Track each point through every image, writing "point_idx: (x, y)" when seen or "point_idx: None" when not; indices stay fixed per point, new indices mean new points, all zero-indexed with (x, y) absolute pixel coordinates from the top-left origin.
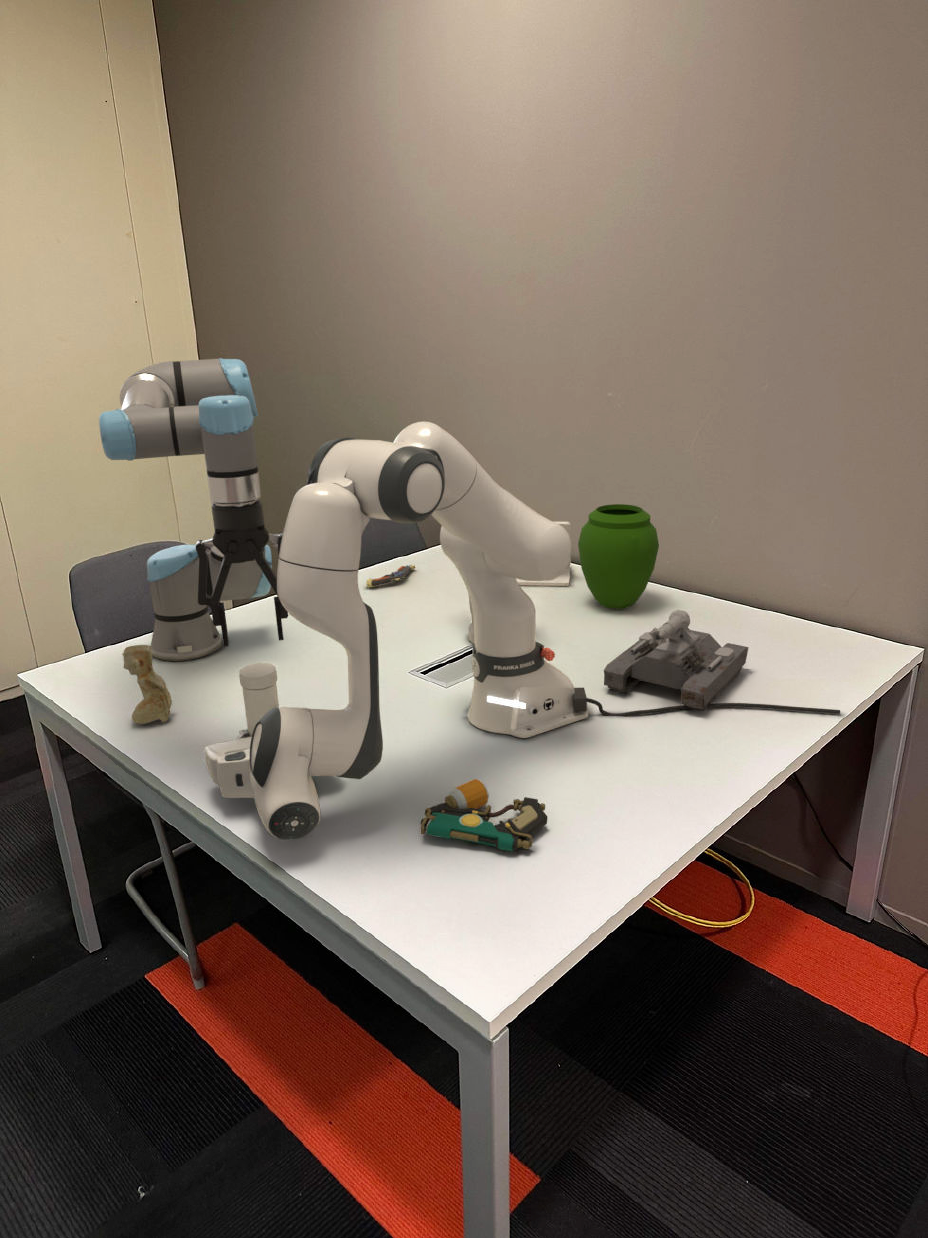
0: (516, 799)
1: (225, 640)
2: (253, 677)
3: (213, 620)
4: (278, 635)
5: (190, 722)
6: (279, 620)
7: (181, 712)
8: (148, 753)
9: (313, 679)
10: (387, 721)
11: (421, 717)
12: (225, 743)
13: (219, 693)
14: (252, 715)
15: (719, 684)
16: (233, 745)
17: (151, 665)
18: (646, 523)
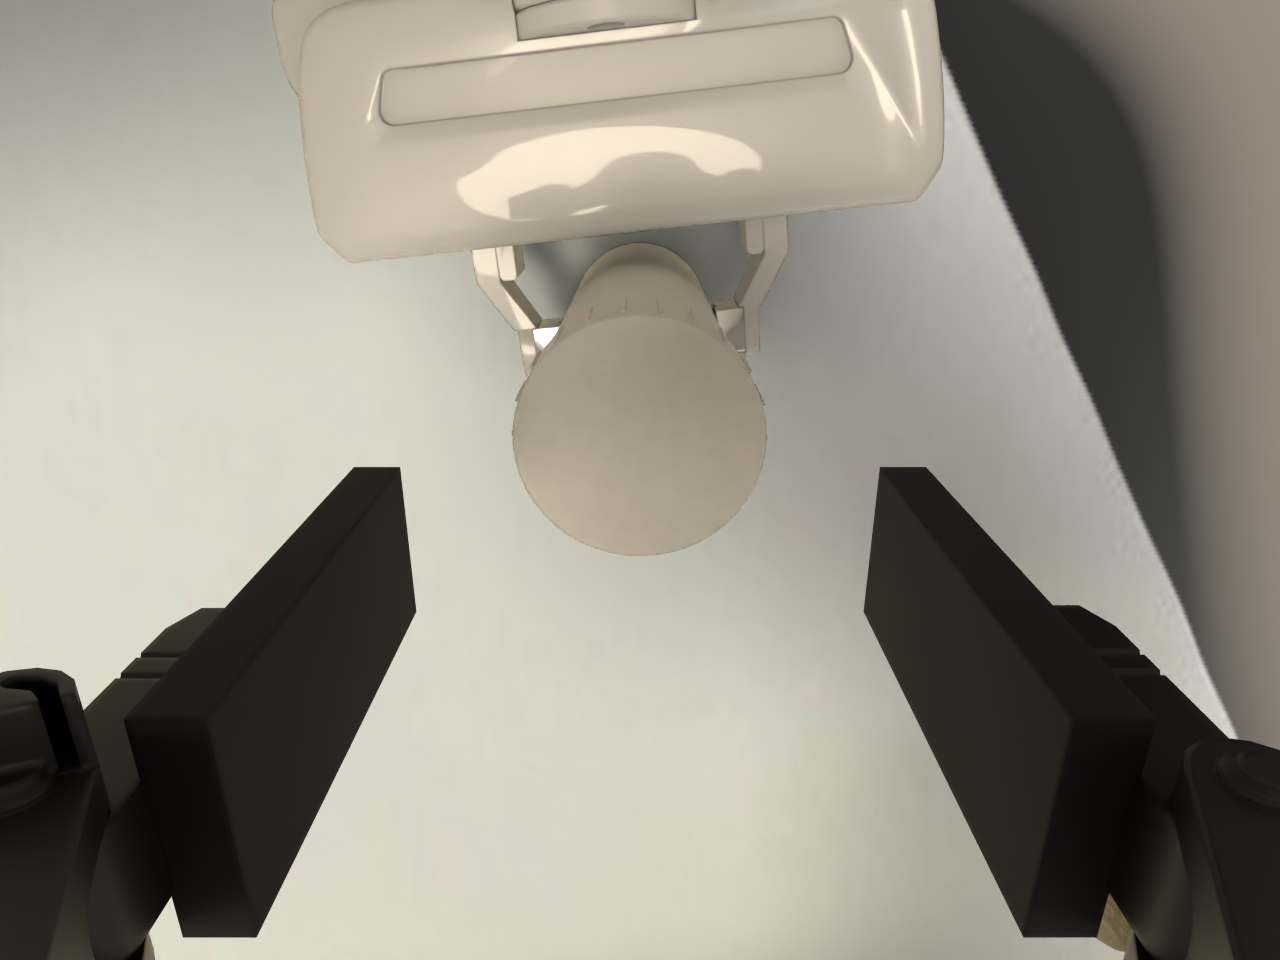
0: None
1: (922, 490)
2: (672, 318)
3: (1127, 649)
4: (383, 486)
5: (907, 704)
6: (292, 560)
7: (932, 780)
8: (1076, 523)
9: (457, 887)
10: (167, 510)
11: (27, 503)
12: (839, 171)
13: (792, 874)
14: (694, 296)
15: None
16: (802, 137)
17: (1129, 930)
18: None
